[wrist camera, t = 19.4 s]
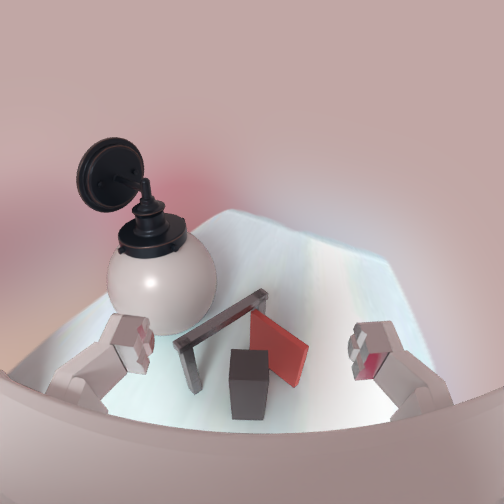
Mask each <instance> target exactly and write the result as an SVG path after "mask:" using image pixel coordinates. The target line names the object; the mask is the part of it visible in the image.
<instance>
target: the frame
mask: <svg viewBox="0 0 504 504" xmlns="http://www.w3.org/2000/svg"><path fill="white" fill-rule="evenodd" d="M267 299H268V293H267V292H266V291H264V290H263V289H259V290H257V291H256V292H254V293H253V294H251V295H249V296H248V297H246V298H244V299H243V300H241V301H240V302H238V303H236V304H235V305H233V306H231V307H230V308H228V309H226V310H225V311H223V312H222V313H220V314H218V315H217V316H215V317H213V318H212V319H210V320H208V321H207V322H205V323H203V324H202V325H200V326H198V327H196V328H195V329H193V330H191V331H190V332H188V333H186V334H185V335H183V336H181V337H179V338H178V339H176V340H174V341H173V346H174V348H175V349H176V350H177V351H178V353H179V357H180V360H181V364H182V367H183V371H184V374H185V377H186V381H187V384H188V387H189V389H190V390H191V391H192V392H193V394H194V395H195V394H197V393H198V392H200V391H201V390H202V387H201V383H200V378H199V374H198V370H197V365H196V361H195V356H194V352H193V347H194V346H196V345H197V344H199V343H200V342H202V341H204V340H205V339H207V338H208V337H210V336H212V335H213V334H215V333H216V332H218V331H220V330H221V329H223V328H224V327H226V326H227V325H229V324H231V323H232V322H234V321H235V320H237V319H238V318H240V317H241V316H243V315H245V314H246V313H248V312H249V311H253V310H254V309H257V310H258V311H260V312H261V313H263V314H264V315H265V307H266V300H267Z"/></svg>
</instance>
